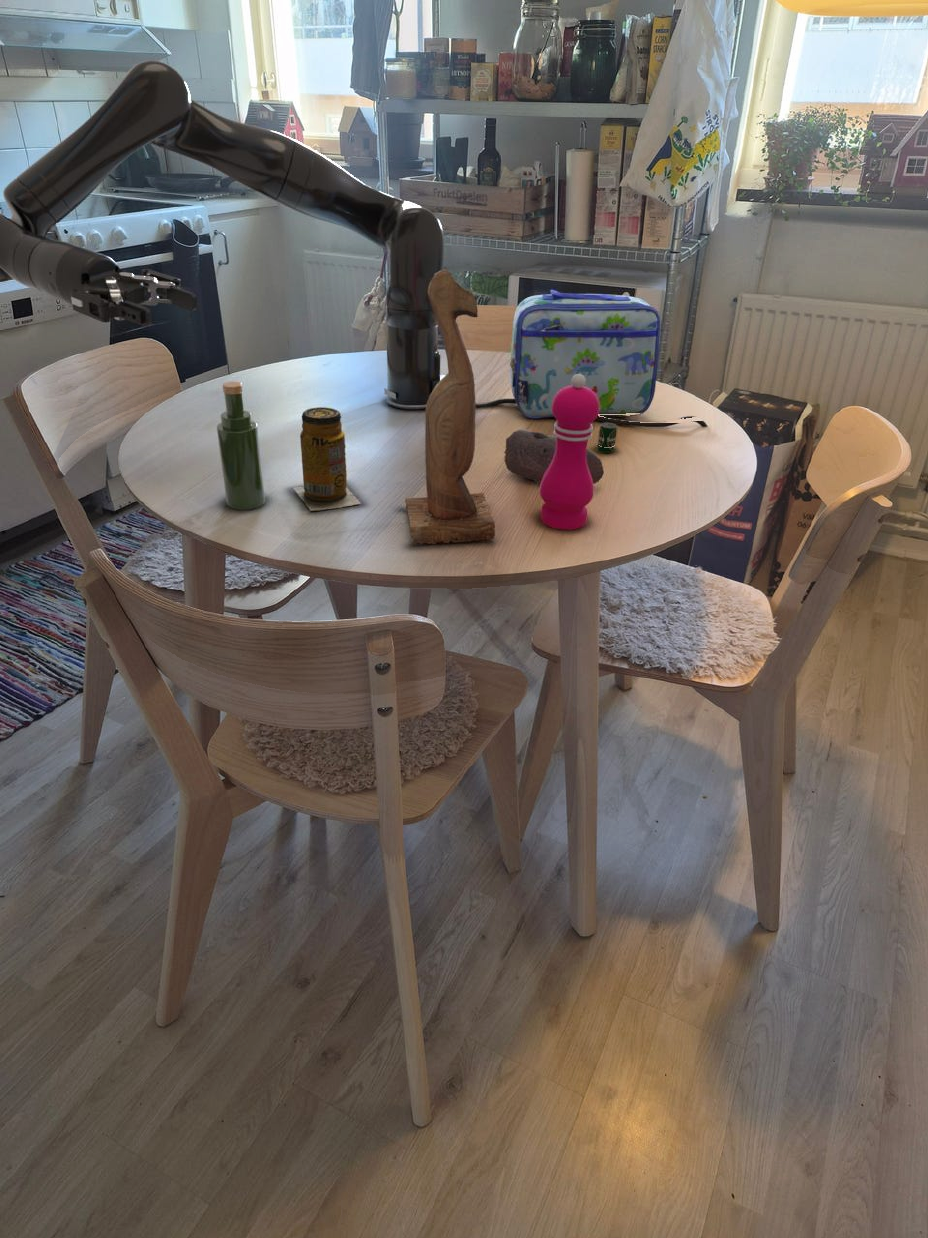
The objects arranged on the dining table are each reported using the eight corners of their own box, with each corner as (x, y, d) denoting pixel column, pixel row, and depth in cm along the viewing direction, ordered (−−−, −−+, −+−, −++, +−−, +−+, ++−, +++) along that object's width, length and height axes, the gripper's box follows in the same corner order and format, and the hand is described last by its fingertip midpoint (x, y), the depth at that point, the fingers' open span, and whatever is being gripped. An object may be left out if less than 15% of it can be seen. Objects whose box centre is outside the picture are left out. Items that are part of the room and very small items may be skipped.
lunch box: (508, 420, 147) (516, 297, 135) (504, 401, 156) (511, 284, 144) (652, 424, 148) (672, 302, 136) (640, 405, 157) (657, 289, 145)
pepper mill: (533, 509, 115) (545, 365, 105) (583, 508, 116) (601, 366, 105) (541, 532, 109) (555, 382, 99) (594, 531, 110) (614, 383, 99)
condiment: (341, 482, 121) (337, 402, 115) (361, 504, 115) (358, 421, 108) (293, 489, 118) (286, 407, 112) (310, 512, 112) (304, 427, 105)
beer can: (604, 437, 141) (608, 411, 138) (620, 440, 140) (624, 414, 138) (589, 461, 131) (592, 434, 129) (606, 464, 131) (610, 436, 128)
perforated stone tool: (605, 484, 124) (611, 440, 120) (596, 497, 119) (602, 452, 116) (512, 466, 128) (515, 423, 125) (500, 478, 124) (503, 434, 121)
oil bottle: (264, 493, 117) (252, 377, 108) (265, 508, 113) (253, 389, 104) (226, 495, 116) (211, 378, 107) (226, 511, 111) (210, 391, 103)
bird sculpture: (500, 541, 107) (517, 279, 89) (411, 547, 104) (411, 279, 87) (481, 505, 116) (493, 261, 99) (399, 510, 113) (396, 261, 96)
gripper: (27, 256, 102) (129, 292, 98) (112, 237, 113) (208, 269, 109) (37, 316, 107) (135, 353, 103) (118, 292, 118) (210, 325, 114)
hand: (172, 310), depth 106 cm, fingers open, 8 cm apart
